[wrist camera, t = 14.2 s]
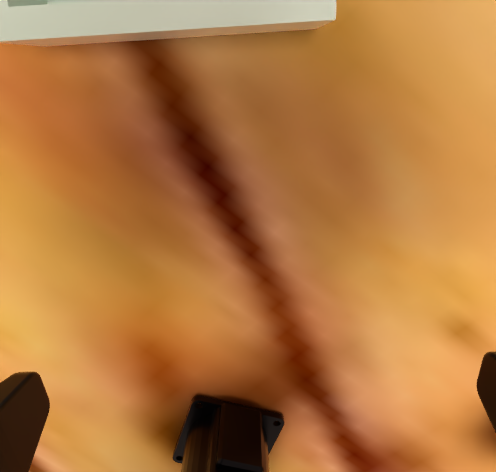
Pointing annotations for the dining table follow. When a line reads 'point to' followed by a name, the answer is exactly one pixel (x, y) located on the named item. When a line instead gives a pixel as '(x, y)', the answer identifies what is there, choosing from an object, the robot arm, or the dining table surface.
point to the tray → (152, 19)
